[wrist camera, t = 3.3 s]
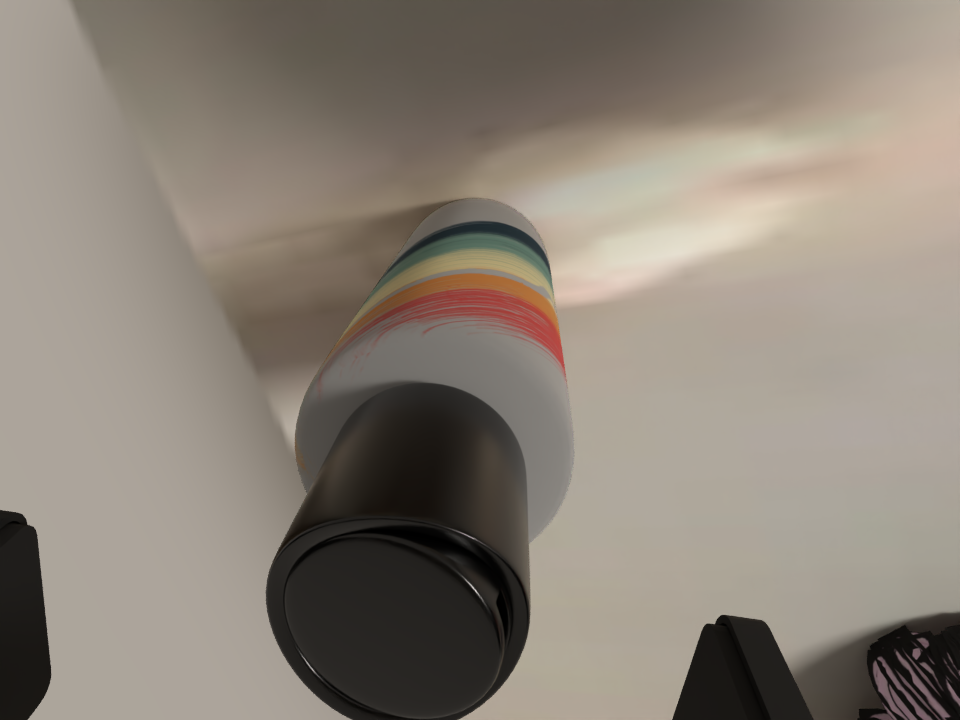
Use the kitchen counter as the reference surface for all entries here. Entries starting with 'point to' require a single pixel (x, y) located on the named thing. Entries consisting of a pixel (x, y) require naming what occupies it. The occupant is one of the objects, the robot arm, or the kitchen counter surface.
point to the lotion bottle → (428, 476)
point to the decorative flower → (915, 675)
